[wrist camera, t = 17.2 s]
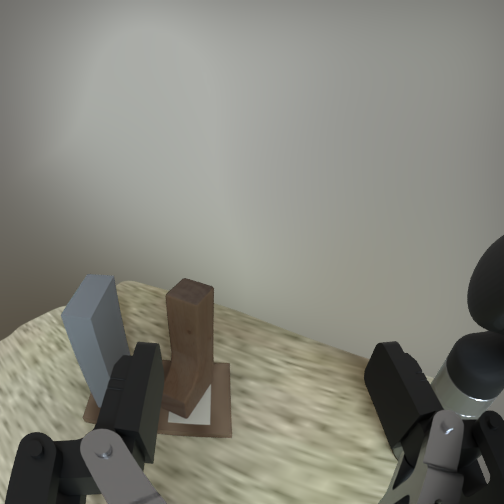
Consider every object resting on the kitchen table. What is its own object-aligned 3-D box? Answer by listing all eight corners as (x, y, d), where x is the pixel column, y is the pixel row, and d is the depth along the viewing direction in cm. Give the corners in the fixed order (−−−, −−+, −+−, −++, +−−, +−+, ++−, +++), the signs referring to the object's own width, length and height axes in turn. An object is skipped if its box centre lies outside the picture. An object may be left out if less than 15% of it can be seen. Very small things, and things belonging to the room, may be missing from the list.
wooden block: (187, 420, 38) (175, 328, 30) (160, 408, 39) (141, 314, 31) (214, 379, 45) (215, 285, 37) (189, 370, 47) (183, 276, 39)
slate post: (133, 368, 45) (113, 275, 37) (122, 411, 37) (90, 318, 29) (111, 365, 45) (87, 274, 37) (98, 407, 37) (60, 314, 29)
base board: (229, 367, 50) (229, 362, 49) (231, 437, 37) (231, 433, 37) (106, 358, 48) (104, 353, 47) (85, 421, 35) (82, 416, 35)
